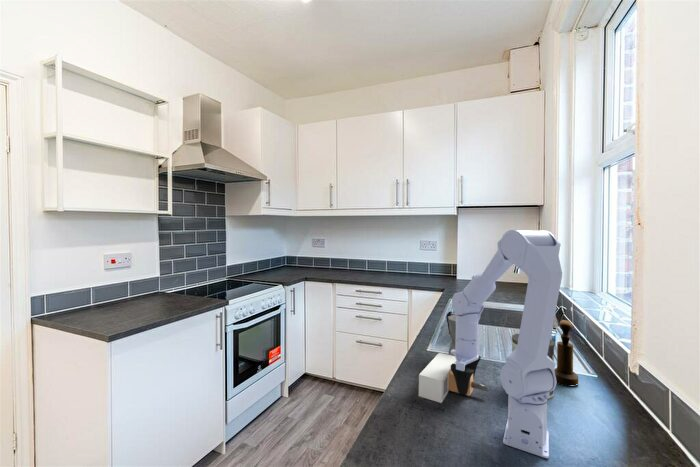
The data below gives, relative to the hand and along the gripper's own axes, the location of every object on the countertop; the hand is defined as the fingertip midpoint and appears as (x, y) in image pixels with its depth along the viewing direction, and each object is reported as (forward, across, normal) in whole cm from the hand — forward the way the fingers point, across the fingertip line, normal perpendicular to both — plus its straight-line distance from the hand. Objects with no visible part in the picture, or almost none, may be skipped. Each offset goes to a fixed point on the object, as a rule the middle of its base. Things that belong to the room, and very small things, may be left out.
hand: (465, 387), depth 85 cm
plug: (+1, 0, -1) cm, 1 cm away
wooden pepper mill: (+2, -23, +23) cm, 33 cm away
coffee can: (+2, -12, +15) cm, 19 cm away
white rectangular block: (+1, 0, -7) cm, 7 cm away
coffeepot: (+2, -19, -6) cm, 20 cm away
